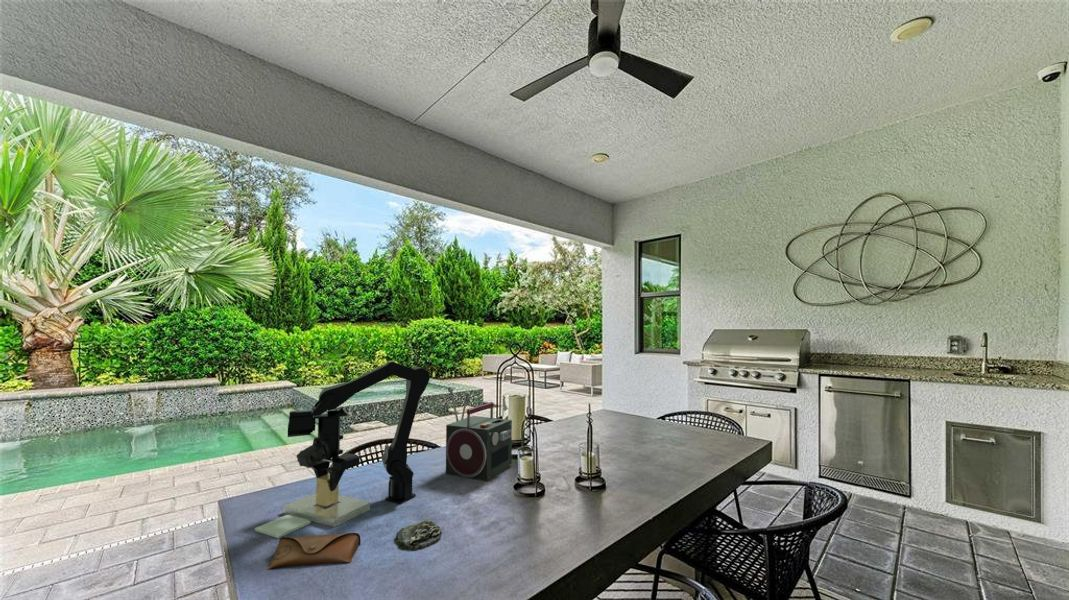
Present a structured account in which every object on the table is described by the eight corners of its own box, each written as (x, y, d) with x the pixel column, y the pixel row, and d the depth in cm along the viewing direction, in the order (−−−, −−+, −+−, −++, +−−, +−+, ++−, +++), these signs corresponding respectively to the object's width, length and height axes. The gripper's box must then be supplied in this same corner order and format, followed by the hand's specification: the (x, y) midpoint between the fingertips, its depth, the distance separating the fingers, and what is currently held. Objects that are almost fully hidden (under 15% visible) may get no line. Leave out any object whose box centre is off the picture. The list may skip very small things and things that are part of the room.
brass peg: (338, 501, 123) (338, 475, 123) (325, 506, 119) (326, 480, 119) (328, 498, 124) (328, 473, 125) (315, 503, 121) (316, 478, 121)
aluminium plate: (369, 509, 123) (370, 502, 123) (333, 527, 112) (334, 519, 112) (321, 497, 131) (321, 490, 131) (283, 512, 120) (283, 505, 121)
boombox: (490, 482, 144) (490, 391, 146) (439, 473, 153) (440, 387, 155) (515, 466, 160) (515, 384, 162) (468, 459, 169) (469, 381, 171)
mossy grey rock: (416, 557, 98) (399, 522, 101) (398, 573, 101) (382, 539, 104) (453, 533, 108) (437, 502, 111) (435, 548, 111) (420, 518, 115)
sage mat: (310, 523, 114) (310, 520, 114) (277, 538, 106) (277, 535, 106) (288, 516, 118) (288, 514, 118) (254, 530, 110) (254, 528, 110)
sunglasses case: (262, 570, 92) (270, 535, 95) (273, 572, 97) (280, 538, 101) (352, 562, 95) (357, 528, 99) (358, 565, 101) (362, 532, 104)
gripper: (280, 435, 120) (278, 493, 119) (327, 443, 112) (325, 506, 111) (316, 427, 130) (314, 480, 129) (361, 434, 122) (360, 491, 121)
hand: (327, 489), depth 122 cm, fingers closed on brass peg, 4 cm apart
